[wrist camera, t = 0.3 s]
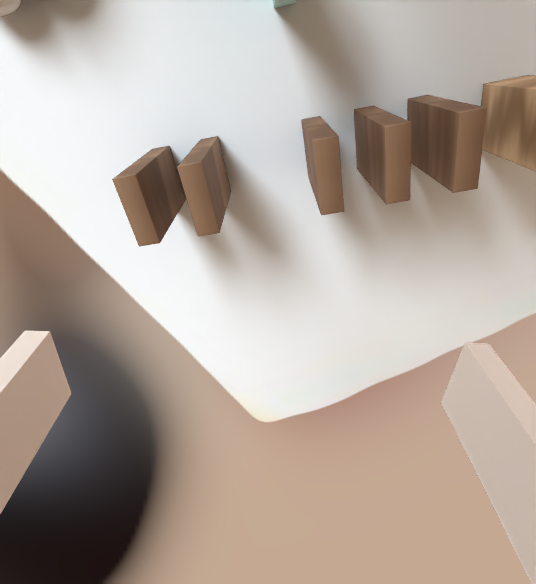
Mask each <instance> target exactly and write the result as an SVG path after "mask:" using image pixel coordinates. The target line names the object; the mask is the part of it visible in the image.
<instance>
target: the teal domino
mask: <svg viewBox="0 0 536 584" xmlns="http://www.w3.org/2000/svg"><path fill="white" fill-rule="evenodd" d="M296 1H297V0H273V3H274V8H277V7H281V6H286V5H290V4H294V3H296Z"/></svg>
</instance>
